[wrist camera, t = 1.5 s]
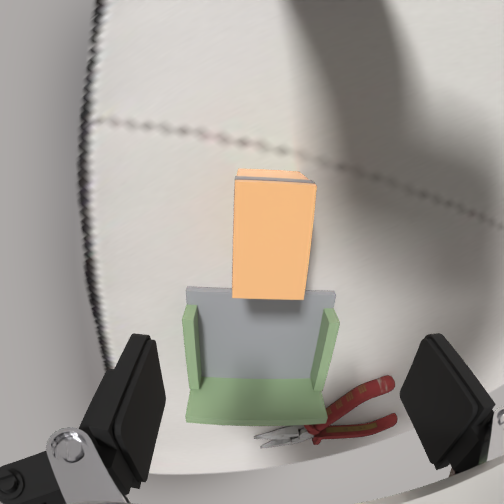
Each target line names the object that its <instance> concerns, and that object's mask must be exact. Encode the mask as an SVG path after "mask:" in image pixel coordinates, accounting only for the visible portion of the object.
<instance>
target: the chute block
mask: <svg viewBox="0 0 504 504" xmlns="http://www.w3.org/2000/svg"><path fill="white" fill-rule="evenodd" d="M316 189H317V186H316V185H315V183H314V182H313V181H312V180H309V179H308V178H306V177H305V176H304V175H303V174H301V173H300V172H296V171H281V170H262V169H238V172H237V176H235V187H234V221H233V265H232V298H245V299H283V300H304V294H305V287H306V279H307V271H308V264H309V255H310V247H311V238H312V229H313V220H314V210H315V199H316Z"/></svg>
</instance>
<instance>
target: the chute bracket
mask: <svg viewBox="0 0 504 504" xmlns="http://www.w3.org/2000/svg"><path fill="white" fill-rule="evenodd" d="M335 298H336V294H335V292H334V291H312V290H305V294H304V300H283V299H245V298H232V288H208V287H187V289H186V301H187V305H186V308H185V312H184V315H183V318H182V324H183V335H184V345H185V354H186V363H187V372H188V380H189V388H190V394H189V400H188V405H187V411H186V416H185V417H186V422H188V423H200V424H214V425H235V426H290V425H311V424H325V423H326V421H327V419H328V417H327V413H326V408H325V404H324V400H323V396H322V392H321V391H323V388H324V384H325V380H326V377H327V373H328V369H329V366H330V362H331V358H332V354H333V350H334V346H335V342H336V337H337V333H338V329H339V325H340V322H339V320H338V317H337V315H336V313H335V311H334V303H335Z"/></svg>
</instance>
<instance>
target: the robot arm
mask: <svg viewBox="0 0 504 504" xmlns="http://www.w3.org/2000/svg"><path fill="white" fill-rule="evenodd" d="M400 398H401V401H402V403H403V405H404V407H405V409H406V411H407V413H408V415H409V417H410V419H411V421H412V424H413V426H414V428H415V430H416V432H417V434H418V436H419V438H420V440H421V443H422V445H423V447H424V449H425V452H426V454H427V456H428V458H429V461H430V462H431V463H432V464H434V465H435V468H436V470H438V469H441V468H444V467H446V466H448V465H449V464H451V466H452V469H451V472H450V475H449V477H448V478H446V479H443V480H440V481H438V482H435V483H432V484H429V485H426V486H423V487H420V488H417V489H413V490H410V491H406V492H403V493H399V494H396V495H392V496H388V497H384V498H380V499H376V500H371V501H366V502H361V503H357V504H504V406H503V407H499V408H497V409H496V410H495V412H493V410H492V409H493V407H494V406H495V403H494V401H493V400H492V399H491V397H490V396H489V394H488V393H487V392H486V390H485V389H484V387H483V386H482V385H481V383H480V382H479V381H478V379H477V378H476V377H475V375H474V374H473V373H472V371H471V370H470V369H469V367H468V366H467V365H466V363H465V362H464V361H463V360H462V358H461V357H460V356H459V355H458V353H457V352H456V351H455V349H454V348H453V347H452V346H451V344H450V343H449V342H448V341H447V340H446V338H445V337H444V336H443V335H442V334H440V333H438V334H429V335H427V336H426V337H425V338H424V339H423V340H422V341H421V343H420V346H419V348H418V351H417V353H416V356H415V358H414V361H413V363H412V365H411V368H410V370H409V373H408V375H407V377H406V379H405V382H404V384H403V386H402V388H401V391H400ZM165 402H166V395H165V390H164V385H163V380H162V374H161V369H160V363H159V358H158V352H157V346H156V341H155V340H151V338H150V336H149V335H142V334H132V335H131V337H130V339H129V341H128V343H127V345H126V347H125V349H124V351H123V353H122V355H121V357H120V359H119V361H118V363H117V365H116V367H115V369H108V370H107V371H106V373H105V375H104V377H103V379H102V381H101V383H100V385H99V387H98V389H97V391H96V393H95V395H94V397H93V399H92V401H91V403H90V405H89V407H88V410H87V412H86V414H85V416H84V418H83V421H82V423H81V425H80V427H79V429H77V428H70V427H68V428H62V429H60V430H58V431H56V432H54V433H53V434H52V435H51V436H50V438H49V439H48V441H47V445H46V451H44V452H41V453H39V454H36V455H33V456H30V457H28V458H25V459H22V460H19V461H16V462H13V463H10V464H7V465H4V466H2V467H0V504H131V502H130V501H129V499H128V497H127V496H126V495H127V494H129V491H130V488H131V487H132V488H138V489H139V488H140V485H141V482H146V481H147V478H148V473H149V469H150V465H151V460H152V456H153V452H154V447H155V443H156V439H157V435H158V431H159V427H160V423H161V419H162V415H163V411H164V407H165Z"/></svg>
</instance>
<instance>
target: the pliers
mask: <svg viewBox="0 0 504 504" xmlns="http://www.w3.org/2000/svg"><path fill="white" fill-rule="evenodd" d="M394 387H395V381H394V379H393V378H392V377H391V376H388V375H387V376H383V377H380V378H378V379H375V380H372V381H369V382H367V383H364V384H362V385H360V386H358V387H356V388H354V389H353V390H351V391H350V392H348V393H347V394H345V395H344V396H343V397H341V398H340V399H339V400H337V401H336V402H334V403H333V404H332V405H330V406H329V407H327V408H326V413H327V417H328V419H327V421H326V423H325V424H311V425H293V426H289V427H285V428H282V429H279V430H275V431H272V432H268V433H265V434H261V435H258V436H254V439H275V440H273V441H271V442H268V443H266V444H264V445H262V446H260V447H261V448H268V447H276V446H283V445H289V444H295V443H299V442H302V441H305V440H307V439H310V438H312V441H313V444H314V445H318V444H319V443H320V442H321V440H322V439H340V438H355V437H364V436H369V435H373V434H376V433H378V432H381V431H383V430H386V429H388V428H390V427H393V426H394V425H395V424H396V423H397V416H396V414H395V413H393V414H390V415H388V416H386V417H383V418H381V419H378V420H376V421H373V422H370V423H365V424H358V425H338V426H329V425H331V424H332V423H334V422H335V421H337V420H338V419H340V418H341V417H342V416H344V415H345V414H347V413H348V412H350V411H351V410H352V409H354V408H355V407H357V406H358V405H360V404H361V403H363V402H365V401H367V400H369V399H371V398H373V397H377V396H380V395H382V394H385V393H388V392H390V391H392V390H393V389H394Z"/></svg>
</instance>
